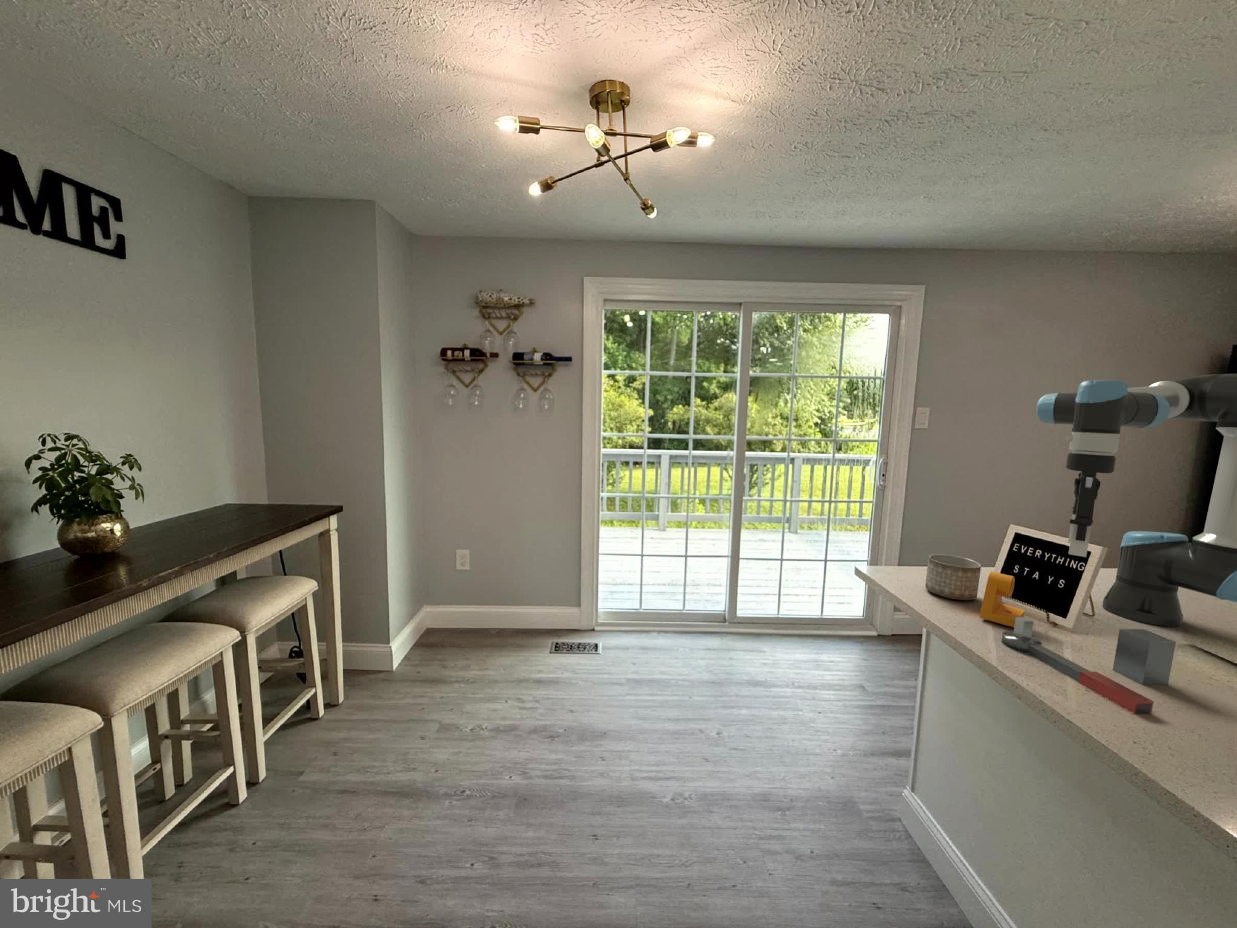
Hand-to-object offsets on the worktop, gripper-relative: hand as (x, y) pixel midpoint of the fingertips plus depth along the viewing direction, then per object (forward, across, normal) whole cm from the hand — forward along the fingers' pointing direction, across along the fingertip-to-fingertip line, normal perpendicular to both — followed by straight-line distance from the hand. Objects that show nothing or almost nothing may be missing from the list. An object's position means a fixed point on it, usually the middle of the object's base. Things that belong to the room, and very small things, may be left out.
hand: (1076, 549), depth 109 cm
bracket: (+24, -12, -11) cm, 29 cm away
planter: (+24, -23, -24) cm, 41 cm away
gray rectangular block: (+24, +2, +12) cm, 27 cm away
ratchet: (+24, +11, +1) cm, 26 cm away
